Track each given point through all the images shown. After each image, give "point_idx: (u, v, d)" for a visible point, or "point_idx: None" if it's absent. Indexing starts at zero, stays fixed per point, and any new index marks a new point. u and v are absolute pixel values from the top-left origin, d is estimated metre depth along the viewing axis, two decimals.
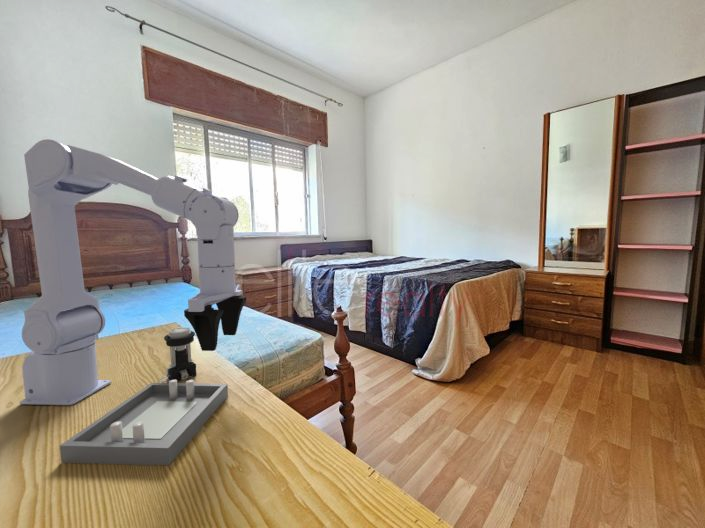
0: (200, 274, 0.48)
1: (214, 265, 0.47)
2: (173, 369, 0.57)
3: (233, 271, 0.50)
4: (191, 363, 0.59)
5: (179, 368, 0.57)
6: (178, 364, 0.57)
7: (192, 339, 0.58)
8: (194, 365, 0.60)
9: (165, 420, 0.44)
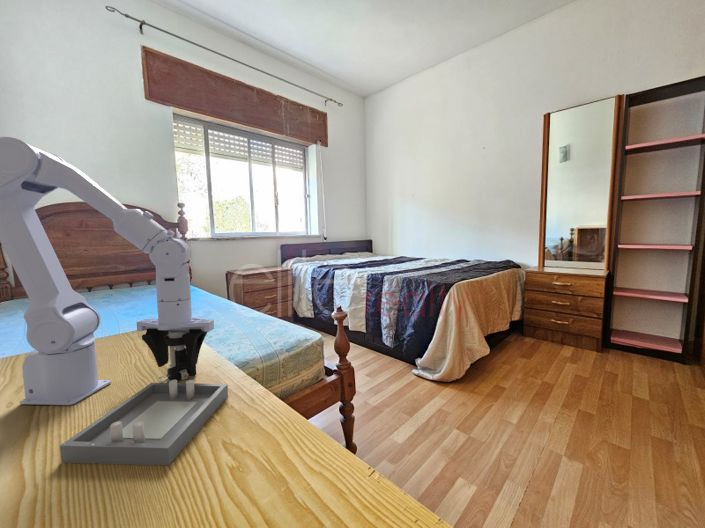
0: None
1: (176, 299, 0.55)
2: (173, 369, 0.57)
3: (165, 307, 0.54)
4: None
5: (179, 368, 0.57)
6: (178, 364, 0.57)
7: None
8: (194, 365, 0.60)
9: (165, 420, 0.44)
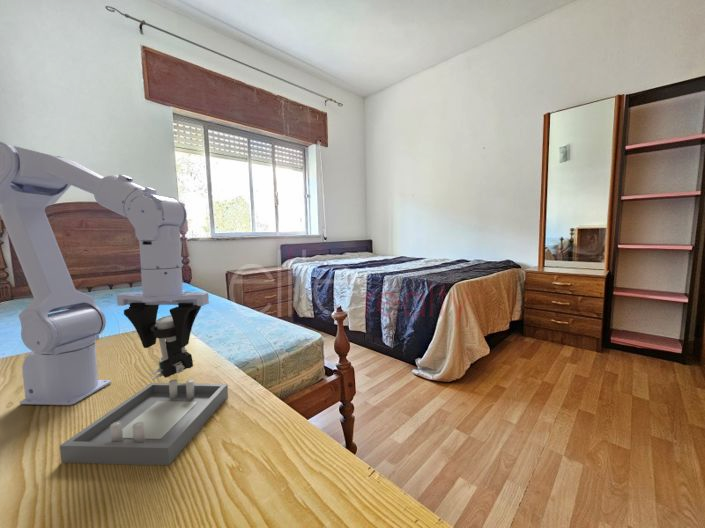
0: None
1: (153, 267, 0.46)
2: (165, 363, 0.50)
3: (150, 275, 0.46)
4: (186, 354, 0.52)
5: (172, 361, 0.50)
6: (171, 357, 0.50)
7: None
8: (189, 356, 0.53)
9: (165, 420, 0.44)
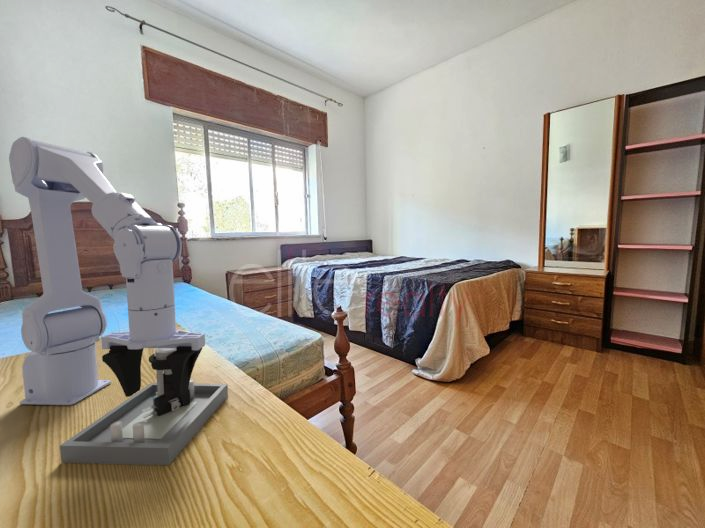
0: None
1: (136, 308, 0.40)
2: (161, 398, 0.45)
3: (138, 317, 0.40)
4: None
5: (168, 397, 0.45)
6: (167, 392, 0.45)
7: None
8: (187, 391, 0.48)
9: (165, 420, 0.44)
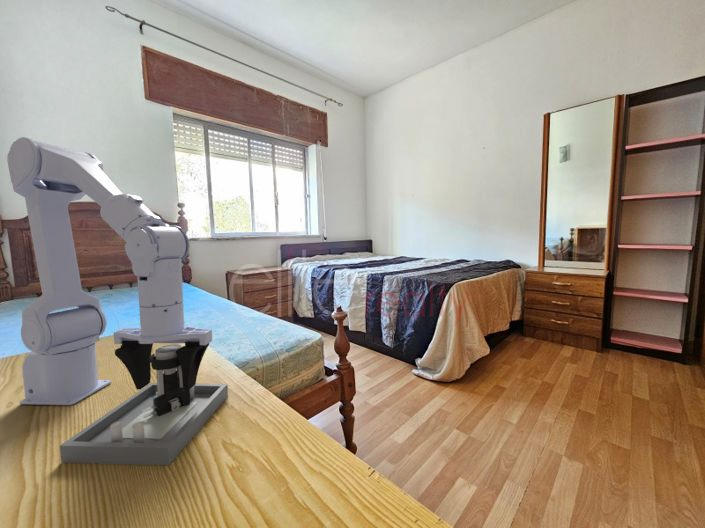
0: None
1: (149, 305, 0.42)
2: (161, 398, 0.45)
3: (149, 313, 0.42)
4: (183, 390, 0.47)
5: (168, 397, 0.45)
6: (167, 392, 0.45)
7: None
8: (187, 391, 0.48)
9: (165, 420, 0.44)
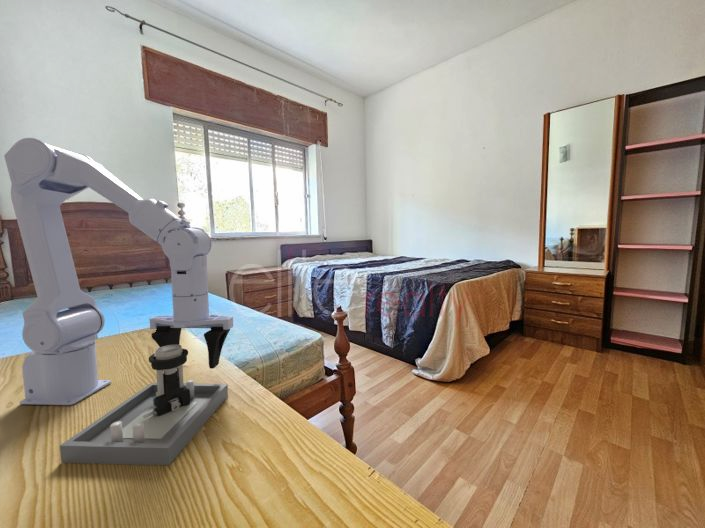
0: None
1: (188, 294, 0.50)
2: (161, 398, 0.45)
3: (181, 302, 0.50)
4: (183, 390, 0.47)
5: (168, 397, 0.45)
6: (167, 392, 0.45)
7: (185, 359, 0.46)
8: (187, 391, 0.48)
9: (165, 420, 0.44)
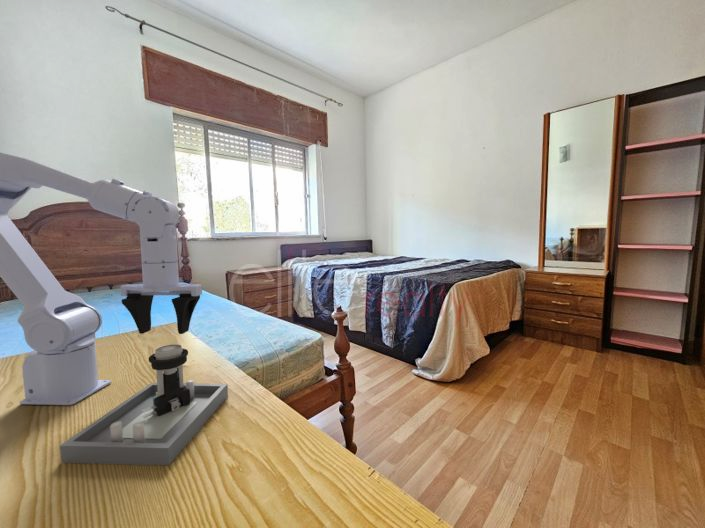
0: None
1: (159, 261, 0.52)
2: (161, 398, 0.45)
3: (149, 268, 0.52)
4: (183, 390, 0.47)
5: (168, 397, 0.45)
6: (167, 392, 0.45)
7: (185, 359, 0.46)
8: (187, 391, 0.48)
9: (165, 420, 0.44)
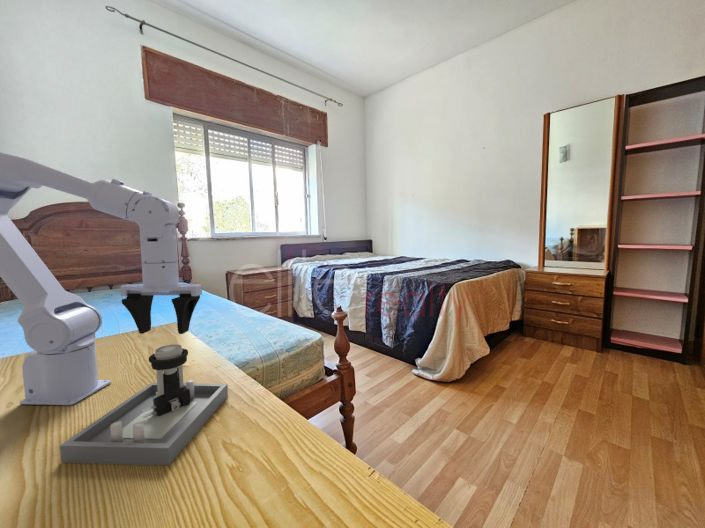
0: None
1: (159, 261, 0.52)
2: (161, 398, 0.45)
3: (149, 268, 0.52)
4: (183, 390, 0.47)
5: (168, 397, 0.45)
6: (167, 392, 0.45)
7: (185, 359, 0.46)
8: (187, 391, 0.48)
9: (165, 420, 0.44)
